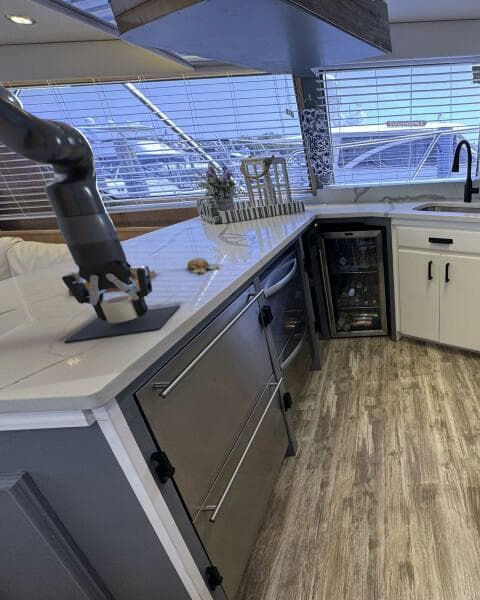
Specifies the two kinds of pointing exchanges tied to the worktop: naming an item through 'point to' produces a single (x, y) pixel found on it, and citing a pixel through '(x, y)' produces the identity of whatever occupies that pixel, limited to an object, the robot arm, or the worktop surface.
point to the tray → (132, 276)
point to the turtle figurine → (199, 266)
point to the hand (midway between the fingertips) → (125, 316)
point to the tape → (119, 309)
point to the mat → (124, 325)
